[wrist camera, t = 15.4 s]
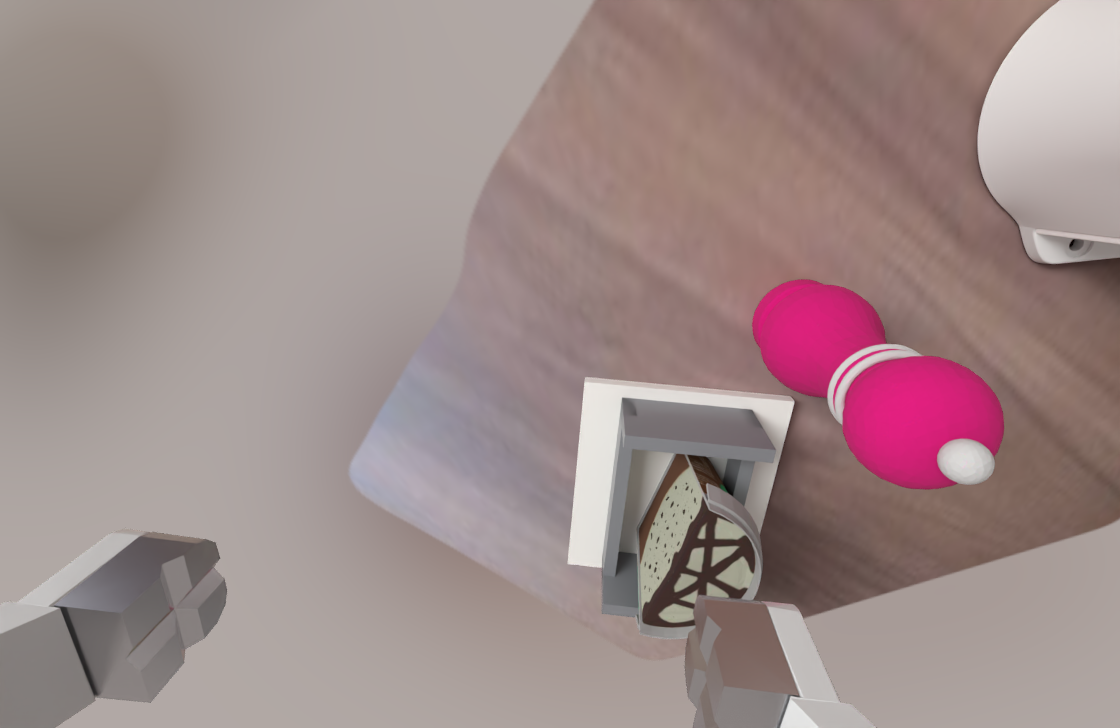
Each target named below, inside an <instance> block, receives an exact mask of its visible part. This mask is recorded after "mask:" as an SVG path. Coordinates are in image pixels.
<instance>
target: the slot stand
mask: <svg viewBox="0 0 1120 728" xmlns="http://www.w3.org/2000/svg"><path fill="white" fill-rule="evenodd" d="M794 403H795V401H794V400H793V399H792V398H791V396H784V395H773V394H763V393H752V392H741V391H730V390H720V389H709V388H698V387H688V386H677V385H666V384H655V383H645V382H634V381H623V380H612V379H602V378H591V377H585V384H584V394H583V405H582V416H581V427H580V437H579V448H578V459H577V469H576V480H575V491H574V501H573V512H572V523H571V533H570V544H569V555H568V564H573V565H582V566H591V567H600V568H602V614H610V615H618V616H627V617H635V615H636V614H639V600H638V565H637V530H636V528H637V526H638V524H639V522H640V520H641V518H642V516H643V514H644V512H645V510H646V508H647V506H648V504H649V502H650V500H651V498H652V496H653V494H654V492H655V490H656V488H657V486H658V484H659V482H660V480H661V478H662V476H663V474H664V472H665V470H666V468H667V466H668V464H669V462H670V460H671V458H672V456H673V454H674V453H676V454H686V455H696V456H706V457H707V458H708V459H709V460H710V461H711V463H712V465H713V466H714V468H715V470H716V472H717V474H718V476H719V477H720V479H721V481H722V483H723V485H724V487H725V489H726V490H727V492H728V494H730V495H731V496H733V497H734V498H735V499H736V500H737V501H739V502H740V503H741V504H742V505H743V506H744V507H745V509H746V510H747V511H748V512H749V513H750V515H751V516H752V518H753V520H754V522H755V523H756V525H757V528H758V531H759V534H760V532H761V528H762V524H763V520H764V517H765V513H766V509H767V505H768V501H769V498H770V494H771V490H772V486H773V482H774V479H775V475H776V471H777V467H778V463H779V460H780V456H781V452H782V448H783V444H784V441H785V437H786V433H787V429H788V425H789V422H790V418H791V414H792V410H793V406H794Z"/></svg>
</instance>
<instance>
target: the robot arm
mask: <svg viewBox="0 0 1120 728" xmlns="http://www.w3.org/2000/svg"><path fill="white" fill-rule="evenodd" d="M978 157H979V164H980V168H981V172H982V175H983V178H984V180H985V183H986V185H987V187H988V189H989V190H990V192H991V194H992V195H993V197H994V198H995V199H996V201H997V202H998V203H999V204H1000V205H1001V206H1002V207H1003V208H1004V209H1005V210H1006V211H1007V212H1008V213H1009V214H1010V215H1011V216H1012V217H1013V218H1014V219H1015V221H1016V222H1017V224H1018V225H1019V228H1020V232H1021V236H1022V240H1023V244H1024V247H1025V250H1026V252H1027V254H1028V256H1029V257H1030V258H1031V259H1032V260H1033V261H1035V262H1038V263H1046V264H1061V263H1071V262H1081V261H1091V260H1100V259H1110V258H1120V0H1060V1H1059V2H1057V3H1056V4H1055V5H1053V6H1052V7H1051V8H1050V9H1049V10H1047V11H1046V12H1045V13H1044V14H1043V15H1042V16H1041V17H1039V18H1038V19H1037V20H1036V21H1035V22H1034V23H1033V24H1032V25H1031V26H1030V28H1029V29H1028V30H1027V31H1026V32H1025V33H1024V34H1023V35H1022V37H1021V38H1020V39H1019V40H1018V41H1017V43H1016V44H1015V45H1014V47H1013V48H1012V49H1011V51H1010V52H1009V54H1008V55H1007V57H1006V58H1005V60H1004V61H1003V63H1002V65H1001V66H1000V68H999V70H998V72H997V73H996V75H995V77H994V79H993V81H992V84H991V86H990V88H989V91H988V93H987V96H986V99H985V102H984V105H983V109H982V113H981V117H980V122H979V128H978ZM1073 239H1075V242H1074V244H1073V246H1072V247H1070V248H1069V244H1070V242H1071V241H1072V240H1073ZM219 559H220V556H219V553H218V549H217V546H216V543H215V542H212V541H209V540H206V539H200V538H193V537H185V536H178V535H171V534H164V533H157V532H145V531H138V530H131V529H122V530H118V531H115V532H112V533H110V534H109V535H107V536H106V537H105V538H103V539H102V540H100V541H99V542H98V543H96V544H95V545H94V546H92V547H91V548H90V549H88V550H87V551H86V552H84V553H83V554H82V555H80V556H79V557H78V558H77V559H75V560H74V561H72V562H71V563H70V564H68V565H67V566H66V567H64V568H63V569H62V570H60V571H59V572H57V573H56V574H55V575H53V576H52V577H51V578H50V579H48V580H47V581H45V582H44V583H43V584H41V585H40V586H39V587H37V588H36V589H35V590H33V591H32V592H31V593H29V594H28V595H26V596H25V597H24V598H22V599H21V600H20V601H18V602H5V603H2V604H0V728H55V727H56V726H58V725H60V724H61V723H63V722H64V721H65V720H67V719H69V718H70V717H72V716H73V715H75V714H76V713H78V712H79V711H81V710H82V709H84V708H85V707H87V706H88V705H90V704H91V703H93V702H94V701H95V697H97V698H107V699H117V700H129V701H138V702H149V703H151V701H152V700H153V699H154V698H155V697H156V696H157V694H158V693H159V692H160V691H161V690H162V688H163V687H164V686H165V685H166V684H167V683H168V681H169V680H170V679H171V678H172V677H173V675H174V674H175V673H176V672H177V671H178V670H179V668H180V667H181V666H182V665H183V664H184V658H185V649H187V648H188V647H190V646H192V645H194V644H196V643H197V642H199V641H201V640H202V639H204V638H205V637H206V636H207V635H208V634H209V632H210V631H211V630H212V629H213V627H214V626H215V625H216V624H217V622H218V620H219V618H220V615H221V613H222V611H223V609H224V606H225V603H226V595H227V588H226V583H225V579H224V578H223V577H222V576H221V574H220V573H219V572H218V571H217V570H216V569H215V568H214V566H215V565H216V563H217V562H218V561H219ZM693 616H694V621H695V626H696V627H695V628H694V629H693V630H692V631H690V632H689V633H688V638H687V643H686V649H685V677H686V686H687V693H688V698H689V699H690V700H691V702H692V703H693V704H694V705H695V707H696V708H697V711H696V715H695V719H694V723H693V728H877V727H876V726H875V725H873V724H872V723H871V722H870V721H869V720H868V719H867V718H866V717H865V716H864V715H863V714H862V713H861V712H859V711H858V710H857V709H856V708H855V707H854V706H853V705H852V704H848V703H841V702H840V699H839V697H838V695H837V693H836V691H835V688H834V686H833V684H832V682H831V679H830V677H829V675H828V673H827V670H826V668H825V666H824V664H823V662H822V659H821V657H820V655H819V653H818V650H817V648H816V646H815V644H814V641H813V639H812V637H811V635H810V633H809V631H808V628H807V626H806V624H805V621H804V619H803V617H802V615H801V612H800V610H799V609H798V608H797V607H796V606H795V605H794V604H786V603H776V602H766V601H762V602H760V601H755V600H745V599H735V598H726V597H716V596H706V595H699V596H698V597H697V599H696V601H695V606H694V610H693Z"/></svg>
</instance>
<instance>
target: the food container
mask: <svg viewBox="0 0 1120 728" xmlns="http://www.w3.org/2000/svg"><path fill="white" fill-rule="evenodd" d="M636 530H637V565H638V600H639V614H636V615H635V617H636V622H637V627H638V629H639V630H640V634H641V635H644V636H648V637H653V638H660V639H685V638H688V633H689V632H690V631H692V630H693V629H694V628H695V627H696V626H695V621H694V616H693V610H694V606H695V601H696V599H697V597H698V596H699V595H706V596H716V597H726V598H735V599H745V600H753V599H754V597H755V595H756V593H757V590H758V587H759V584H760V579H761V576H762V569H763V558H762V548H761V539H760V534H759V531H758V528H757V525H756V523H755V522H754V520H753V518H752V516H751V515H750V513H749V512H748V511H747V510H746V509H745V507H744V506H743V505H742V504H741V503H740V502H739V501H737V500H736V499H735V498H734V497H733V496H731V495H730V494H728V492H727V490H726V489H725V487H724V485H723V483H722V481H721V479H720V477H719V476H718V474H717V472H716V470H715V468H714V466H713V465H712V463H711V461H710V460H709V459H708V458H707V457H706V456H696V455H686V454H676V453H674V454H673V456H672V458H671V460H670V462H669V464H668V466H667V468H666V470H665V472H664V474H663V476H662V478H661V480H660V482H659V484H658V486H657V488H656V490H655V492H654V494H653V496H652V498H651V500H650V502H649V504H648V506H647V508H646V510H645V512H644V514H643V516H642V518H641V520H640V522H639V524H638V526H637V528H636Z"/></svg>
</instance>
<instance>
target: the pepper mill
mask: <svg viewBox="0 0 1120 728" xmlns="http://www.w3.org/2000/svg"><path fill="white" fill-rule="evenodd" d="M752 327H753V335H754V338H755V341H756V343H757V344H758V346H759V347H760V348H761V354H762V358H763V361H764V363H765V364H766V366H767V368H768V370H769V371H770V372H771V373H772V374H773V375H774V376H775V377H776V378H777V379H778V380H779V381H780V382H781V383H783V384H784V385H785V386H787V387H789V388H790V389H792V390H794V391H797V392H799V393H802V394H805V395H808V396H814V397H825V398H827V399H828V405H829V408H830V410H831V412H832V415H833V416H834V417H835V419H836V420H837V421H838V422H839V423H840V424H841V425H842V427H843V434H844V436H845V439H846V441H847V444H848V446H849V449H850V450H851V451H852V453H853V454H854V455H855V457H856V458H857V460H858V461H859V462H860V463H861V464H863V465H864V466H865V467H866V468H867V469H868V470H869V471H871V472H872V473H874V474H875V475H877V476H878V477H880V478H881V479H883V480H886V481H888V482H891V483H893V484H896V485H899V486H902V487H905V488H911V489H939V488H944V487H948V486H952V485H955V484H958V483H960V484H966V485H970V484H978V483H981V482H983V481H985V480H987V479H988V478H989V477H990V475H991V474H992V473H993V470H994V466H995V462H994V458H993V457H994V456H995V455H996V453H997V452H998V449H999V446H1000V444H1001V441H1002V438H1003V433H1004V419H1003V411H1002V408H1001V405H1000V402H999V400H998V398H997V397H996V395H995V393H994V392H993V391H992V390H991V388H990V387H989V386H988V385H987V384H986V383H985V382H984V381H983V380H982V378H981V377H979V376H978V375H976V374H975V373H974V372H972V371H971V370H969V369H968V368H966V367H964V366H962V365H960V364H958V363H955V362H953V361H951V360H947V359H944V358H941V357H934V356H923V355H921V354H919V353H918V352H916V351H914V350H913V349H911V348H908V347H905V346H903V345H898V344H887V343H886V340H885V330H884V327H883V325H882V322H881V320H880V318H879V316H878V314H877V313H876V311H875V310H874V308H873V307H872V306H871V305H870V304H869V303H868V302H867V301H866V300H865V299H863V298H862V297H861V296H859V295H858V294H856V293H854V292H853V291H851V290H849V289H846V288H844V287H839V286H835V285H823V284H822V283H819V282H817V281H813V280H794V281H789V282H786V283H784V284H781V285H779V286H778V287H776V288H774V289H773V290H771V291H770V292H769V293H768V294H767V295H766V296H765V297H764V298H763V299H762V300H761V301H760V303H759V305H758V307H757V309H756V310H755V314H754V317H753V323H752Z"/></svg>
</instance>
